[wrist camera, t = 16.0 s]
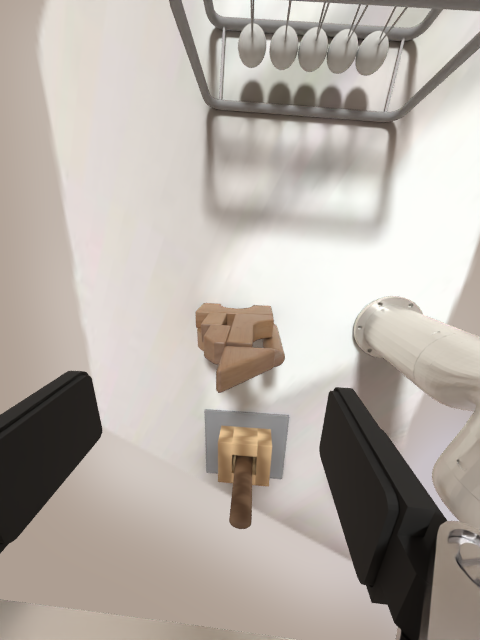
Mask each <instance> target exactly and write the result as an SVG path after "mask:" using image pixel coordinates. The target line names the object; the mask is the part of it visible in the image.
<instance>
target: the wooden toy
mask: <svg viewBox="0 0 480 640" xmlns="http://www.w3.org/2000/svg"><path fill="white" fill-rule="evenodd" d="M196 327H197V328H198V329H197V334H198V347H199V348H200V349H201V350H203V351H204V356H205V358H207V359H208V360H210V361H211V362H212V363H214V364H219V366H218V369H217V372H216V390H217V391H218V393H221V392H223V391H225V390H228V389H230V388H232V387H234V386H236V385H238V384H240V383H243V382H245V381H247V380H249V379H251V378H253V377H255V376H258V375H260V374H262V373H264V372H266V371H268V370H270V369H272V368H273V367H277V366H280V365H281V364H282V363H283V362H284V359H285V355H284V351H283V347H282V343H281V340H280V336H279V332H278V328H277V326H276V325H275V324H274V319H273V313H272V309H271V306H258V305H253V306H252V307H250V308H244V309H234V308H226V307H223V306H221V304H211V303H204V304H203V305H202V306H201V307H200V308H199V309H198V310H197V311H196ZM258 339H263V348H253V347H252V346H253V342H255V341H256V340H258Z"/></svg>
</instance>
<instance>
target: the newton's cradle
mask: <svg viewBox="0 0 480 640" xmlns="http://www.w3.org/2000/svg"><path fill="white" fill-rule="evenodd" d="M203 1H204V5H205V10H206V14H207V16H208V19H209V20H210V22H211V23H212V24H213V25H214V26H215V27H217V28H219V29H222V30H223V35H222V54H221V73H220V92H219V99H215V98H213V97H212V96H211V95H210V93H209V90H208V87H207V84H206V80H205V77H204V74H203V70H202V67H201V64H200V60H199V57H198V54H197V51H196V47H195V44H194V41H193V37H192V34H191V31H190V27H189V24H188V21H187V18H186V14H185V11H184V8H183V4H182V1H181V0H169V2H170V7H171V9H172V12H173V15H174V18H175V21H176V24H177V26H178V29H179V32H180V35H181V38H182V40H183V43H184V46H185V49H186V52H187V55H188V57H189V60H190V63H191V66H192V69H193V71H194V74H195V77H196V80H197V83H198V85H199V88H200V91H201V94H202V97H203V99H204V101H205V103H206V104H207V105H209V106H210V107H212V108H215V109H219V110H231V111H244V112H257V113H270V114H283V115H296V116H309V117H322V118H335V119H348V120H361V121H374V122H391V121H395V120H398V119H400V118H402V117H403V116H405V115H406V114H407V113H408V112H409V111H410V110H411V109H413V108H414V107H415V106H416V105H417V104H418V103H419V102H420V101H421V100H423V99H424V98H425V97H426V96H427V95H428V94H429V93H430V92H431V91H433V90H434V89H435V88H436V87H437V86H438V85H439V84H440V83H441V82H443V81H444V80H445V79H446V78H447V77H448V76H449V75H450V74H451V73H452V72H454V71H455V70H456V69H457V68H458V67H459V66H460V65H461V64H462V63H464V62H465V61H466V60H467V59H468V58H469V57H470V56H471V55H472V54H474V53H475V52H476V51H477V50H478V49H479V48H480V32H479V33H478V34H477V35H476V36H475V37H474V38H473V39H472V40H471V41H470V42H468V43H467V44H466V45H465V46H464V47H463V48H462V49H461V50H460V51H459V52H458V53H457V54H456V55H455V56H454V57H453V58H452V59H451V60H450V61H449V62H448V63H447V64H446V65H445V66H444V67H443V68H442V69H441V70H440V71H439V72H438V73H437V74H436V75H435V76H434V77H433V78H432V79H431V80H430V81H429V82H427V83H426V84H425V85H424V86H423V87H422V88H421V89H420V90H419V91H418V92H417V93H416V94H415V95H414V96H413V97H412V98H411V99H410V100H409V101H408V102H407V103H406V104H405V105H404V106H403V107H402V108H401V109H399V110H397V111H393V112H387V110H388V106H389V102H390V98H391V94H392V90H393V86H394V82H395V78H396V74H397V70H398V65H399V61H400V57H401V53H402V49H403V45H404V41H408V40H411V39H414V38H416V37H418V36H419V35H421V34H422V33H424V32H425V31H426V30H427V29H428V28H429V27H430V25H431V24H432V23H433V22H434V20H435V19H436V18H437V16H438V15H439V14H440V12H441V11H442V10H443V9H451V10H469V11H480V0H289V8H288V15H287V21H284V20H267V19H254V0H253V12H252V0H251V18H234V17H222V16H220V15H218V14H217V13H216V12H215V10H214V8H213V2H212V0H203ZM291 1H309V2H324V5H323V9H322V13H321V17H320V21H319V23H317V22H301V21H289V14H290V7H291ZM326 2H327V3H328V4H327V7H326V10H325V13H324V16H323V19H322V15H323V11H324V7H325V3H326ZM329 3H345V4H359V7H358V9H357V12H356V15H355V18H354V20H353V23H352V25H351V24H334V23H323V21H324V18H325V15H326V12H327V9H328V6H329ZM361 4H362V5H366V7H365V9H364V11H363V13H362V15H361V17H360V19H359V20H358V22H357V24H356V25H353V24H354V21H355V19H356V16H357V13H358V11H359V8H360V6H361ZM368 5H380V6H395V7H394V9H393V11H392V13H391V15H390V17H389V19H388V21H387V23H386V25H385V27H384V26H368V25H358V23H359V22H360V20H361V18H362V16H363V14H364V12H365V11H366V9H367V7H368ZM397 6H398V7H406V8H405V9H404V10H403V12H402V13H401V14H400V16H399V17H398V18H397V20H396V21H395V22H394V24H393V25H392V27H386V26H387V24H388V22H389V20H390V18H391V16H392V14H393V12H394V10H395V8H396V7H397ZM408 7H416V8H432V9H431V11H430V12H429V13H428V15H427V16H426V18H425V19H424V20H423V21H422V22H421V23H420V24H418V25H416V26H414V27H411V28H401V27H393V26H394V25H395V24H396V22H397V21H398V20H399V18H400V17H401V16H402V14H403V13H404V12H405V10H406V9H407V8H408ZM321 19H322V22H321ZM225 30H233V31H242V32H241V34H240V38H239V42H238V50H239V56H240V58H241V60H242V62H243V64H244V65H246V66H247V67H249V68H254V67H256V66H258V65H259V64H260V63H261V62H262V60H263V58H264V55H265V51H266V38H265V34H264V32H265V33H274V35H273V37H272V40H271V44H270V58H271V61H272V64H273V65H274V66H275V67H276V68H277V69H279V70H284V69H287V68H289V67H290V66H291V65H292V63H293V62H294V60H295V58H296V55H297V52H298V59H299V63H300V66H301V67H302V69H303V70H305V71H307V72H312V71H315V70H316V69H318V68H319V67H320V65H321V64H322V63H323V61H324V59H325V57H326V54H327V64H328V67H329V69H330V71H331V72H333V73H335V74H339V73H343V72H344V71H346V70H347V69H348V68H349V67H350V66H351V64H352V63H353V61H354V59H355V57H356V69H357V71H358V72H359V73H360V74H361V75H364V76H367V75H371V74H373V73H374V72H376V71H377V70H378V69H379V68H380V67H381V65H382V64H383V62H384V60H385V58H386V56H387V53H388V48H389V41H388V40H393V41H401V45H400V49H399V53H398V57H397V61H396V65H395V69H394V74H393V78H392V82H391V86H390V90H389V94H388V98H387V103H386V107H385V111H384V112H377V111H364V110H351V109H337V108H324V107H311V106H297V105H284V104H270V103H257V102H244V101H230V100H222V84H223V66H224V48H225ZM297 35H304V37H303V38H302V40H301V43H300V46H299V51H298V37H297ZM327 36H329V37H334V38H333V40H332V41H331V43H330V46H329V48H328V39H327ZM357 38H361V39H364V40H363V42H362V43H361V45H360V47H359V49H358V39H357ZM327 49H328V52H327ZM357 50H358V51H357ZM356 54H357V55H356Z"/></svg>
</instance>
